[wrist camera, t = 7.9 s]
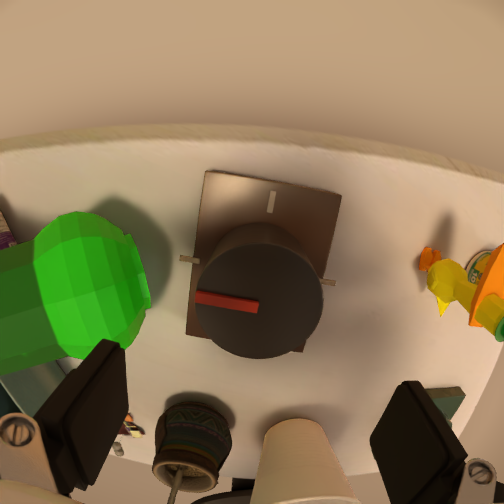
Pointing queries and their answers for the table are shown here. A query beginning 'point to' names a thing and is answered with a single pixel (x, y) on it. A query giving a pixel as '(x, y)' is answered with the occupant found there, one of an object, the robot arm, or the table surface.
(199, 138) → the table surface
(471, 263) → the supplement bottle
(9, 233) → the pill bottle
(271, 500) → the cup
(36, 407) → the flower pot
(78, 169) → the table surface
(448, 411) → the button box
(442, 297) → the toy figure
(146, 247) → the table surface
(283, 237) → the dial knob
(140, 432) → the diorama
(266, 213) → the brown dial base plate
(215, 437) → the yerba mate gourd
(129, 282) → the plastic bottle
